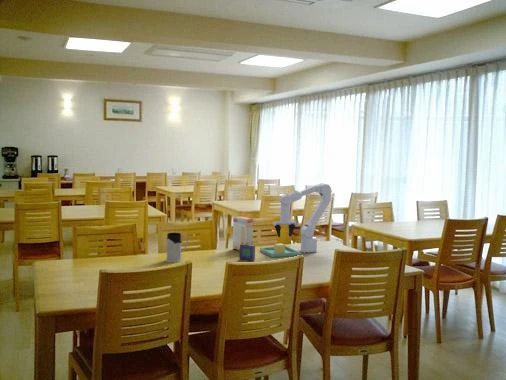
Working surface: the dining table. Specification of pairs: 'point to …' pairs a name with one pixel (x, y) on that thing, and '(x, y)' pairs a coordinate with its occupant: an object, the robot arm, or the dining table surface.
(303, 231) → the robot arm
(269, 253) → the teal tray
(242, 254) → the blue gift bag
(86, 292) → the dining table surface
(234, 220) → the cracker box
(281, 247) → the ochre cube
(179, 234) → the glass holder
